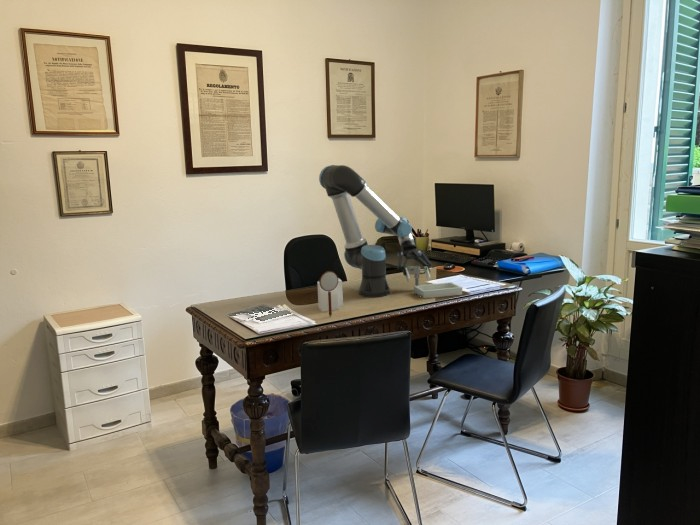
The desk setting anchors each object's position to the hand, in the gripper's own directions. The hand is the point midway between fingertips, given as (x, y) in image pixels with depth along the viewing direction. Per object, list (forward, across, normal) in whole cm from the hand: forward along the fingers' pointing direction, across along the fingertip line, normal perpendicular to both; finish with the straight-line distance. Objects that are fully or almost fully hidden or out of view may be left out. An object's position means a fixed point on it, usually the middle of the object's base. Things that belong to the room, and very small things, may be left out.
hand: (419, 279), depth 276 cm
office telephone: (+14, +80, +3) cm, 81 cm away
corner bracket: (+13, +48, +4) cm, 50 cm away
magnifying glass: (+24, +52, +14) cm, 59 cm away
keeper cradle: (+10, -6, +2) cm, 12 cm away
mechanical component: (+1, 0, -5) cm, 5 cm away
